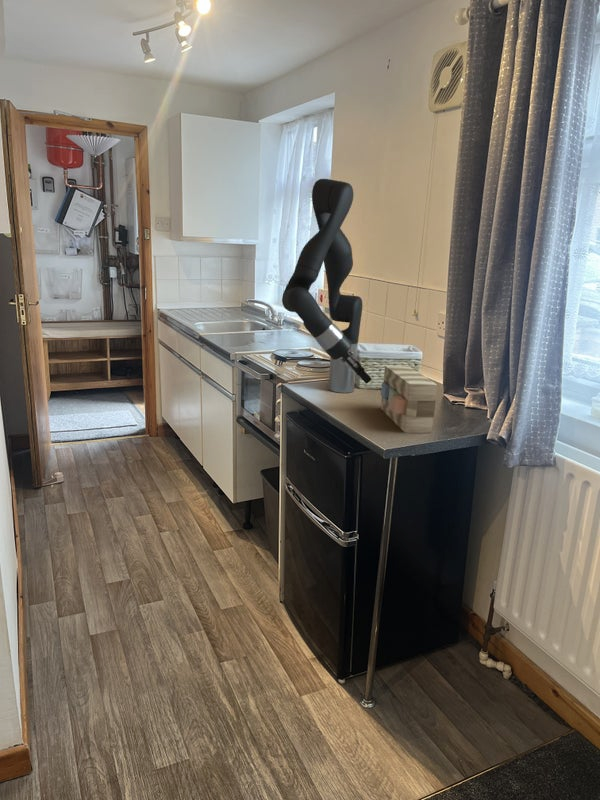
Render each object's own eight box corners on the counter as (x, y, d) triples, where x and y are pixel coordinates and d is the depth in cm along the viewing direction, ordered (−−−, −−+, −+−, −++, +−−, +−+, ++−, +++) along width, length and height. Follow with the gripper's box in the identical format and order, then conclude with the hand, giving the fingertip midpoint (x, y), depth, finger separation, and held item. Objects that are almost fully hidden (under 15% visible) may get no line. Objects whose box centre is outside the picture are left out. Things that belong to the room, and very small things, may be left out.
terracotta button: (389, 409, 169) (391, 395, 168) (400, 409, 169) (401, 396, 168) (394, 413, 165) (395, 399, 164) (404, 413, 165) (406, 399, 164)
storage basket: (354, 389, 210) (358, 349, 206) (348, 379, 226) (351, 341, 222) (420, 392, 212) (424, 352, 208) (409, 381, 228) (413, 344, 224)
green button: (388, 401, 177) (389, 389, 175) (398, 402, 177) (399, 389, 176) (391, 405, 173) (393, 392, 172) (402, 405, 173) (403, 392, 172)
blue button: (380, 394, 184) (381, 382, 183) (390, 395, 185) (391, 382, 184) (384, 398, 180) (385, 385, 179) (394, 398, 181) (395, 385, 180)
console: (380, 408, 188) (385, 365, 184) (404, 408, 189) (409, 366, 185) (404, 432, 165) (409, 384, 161) (431, 432, 166) (437, 384, 162)
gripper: (347, 335, 168) (384, 378, 174) (337, 328, 181) (372, 368, 186) (327, 353, 169) (365, 395, 174) (319, 344, 181) (354, 384, 187)
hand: (368, 381), depth 180 cm, fingers closed
